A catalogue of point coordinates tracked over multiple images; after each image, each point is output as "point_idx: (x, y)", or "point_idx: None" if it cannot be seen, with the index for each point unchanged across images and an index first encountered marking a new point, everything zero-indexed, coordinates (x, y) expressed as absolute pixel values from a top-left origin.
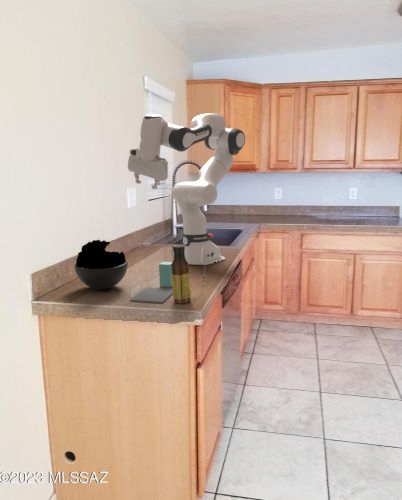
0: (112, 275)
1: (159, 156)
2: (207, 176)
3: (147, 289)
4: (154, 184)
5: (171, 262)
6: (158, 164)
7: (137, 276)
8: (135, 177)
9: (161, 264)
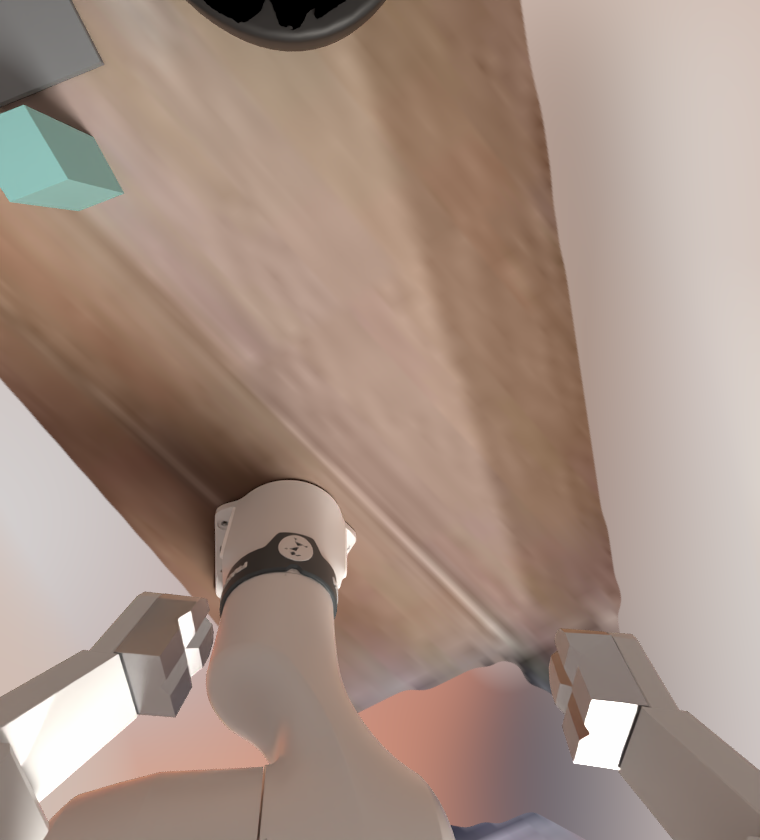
0: None
1: None
2: None
3: (60, 20)
4: (75, 663)
5: (12, 188)
6: None
7: (312, 228)
8: (723, 753)
9: (11, 111)
